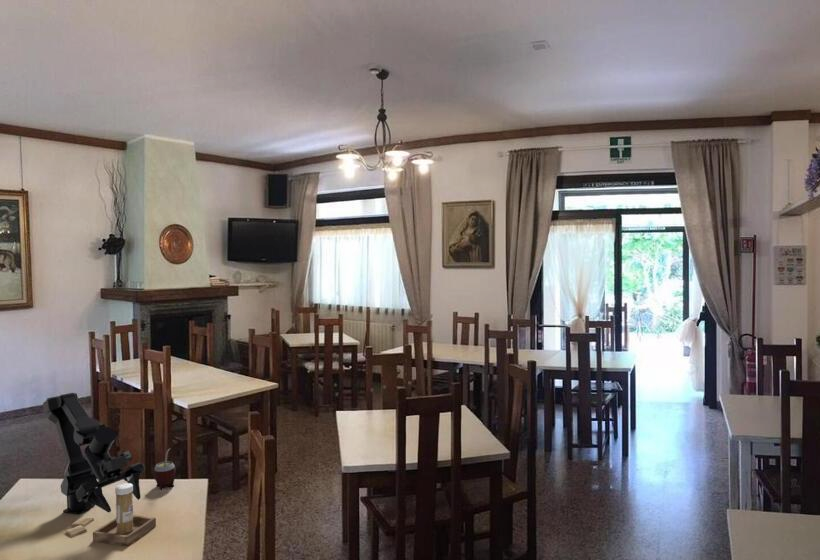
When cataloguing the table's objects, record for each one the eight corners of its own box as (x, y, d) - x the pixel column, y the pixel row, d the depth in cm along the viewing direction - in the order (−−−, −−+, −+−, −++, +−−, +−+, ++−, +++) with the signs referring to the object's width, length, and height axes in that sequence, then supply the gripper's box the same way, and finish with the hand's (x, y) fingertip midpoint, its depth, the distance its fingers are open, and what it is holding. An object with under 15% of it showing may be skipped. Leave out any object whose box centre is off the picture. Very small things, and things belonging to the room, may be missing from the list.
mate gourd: (160, 481, 199) (159, 440, 199) (182, 482, 199) (180, 441, 198) (149, 490, 192) (147, 447, 191) (171, 491, 191) (170, 448, 191)
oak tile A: (72, 527, 168) (72, 523, 168) (82, 521, 172) (81, 517, 172) (84, 528, 167) (84, 524, 167) (93, 522, 171) (93, 518, 171)
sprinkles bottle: (131, 533, 161) (130, 487, 161) (114, 535, 160) (113, 489, 160) (135, 526, 166) (134, 481, 165) (118, 528, 165) (117, 483, 164)
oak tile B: (66, 534, 164) (65, 530, 164) (80, 528, 167) (80, 524, 167) (71, 538, 161) (71, 534, 161) (86, 532, 164) (86, 528, 164)
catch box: (93, 541, 159) (92, 532, 158) (123, 521, 170) (122, 513, 170) (127, 545, 156) (127, 537, 156) (156, 525, 167) (155, 517, 167)
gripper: (80, 455, 156) (105, 503, 151) (140, 436, 172) (165, 478, 167) (64, 478, 160) (89, 524, 155) (125, 456, 176) (149, 498, 172)
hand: (125, 505), depth 162 cm, fingers open, 9 cm apart
